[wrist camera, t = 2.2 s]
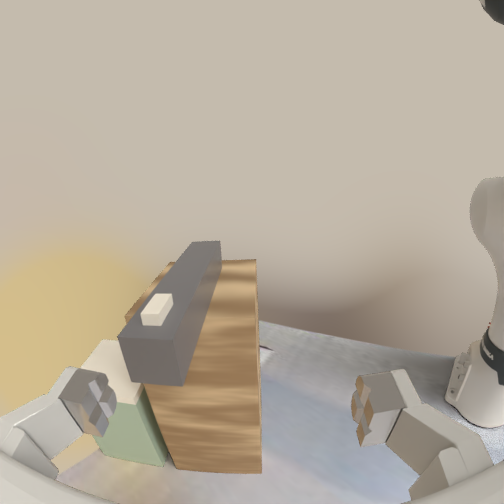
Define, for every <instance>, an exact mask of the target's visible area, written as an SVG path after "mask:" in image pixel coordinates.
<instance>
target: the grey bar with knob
mask: <svg viewBox="0 0 504 504" xmlns="http://www.w3.org/2000/svg"><path fill="white" fill-rule="evenodd" d="M221 270H222V260H221V246H220V241H202V242H192V243H191V244H190V245H189V247H188V248H187V249H186V250H185V251H184V253H183V254H182V255H181V256H180V258H179V259H178V260H177V261H176V262H175V264H174V265H173V266H172V267H171V268H170V270H169V271H168V272H167V273H166V275H165V276H164V277H163V278H162V280H161V281H160V282H159V283H158V285H157V286H156V287H155V288H154V290H153V291H152V292H151V293H150V295H149V296H148V297H147V299H146V300H145V301H144V302H143V304H142V305H141V306H140V308H139V309H138V310H137V311H136V313H135V314H134V315H133V317H132V318H131V319H130V321H129V322H128V323H127V325H126V326H125V327H124V329H123V330H122V331H121V332H120V334H119V335H118V336H117V338H118V341H119V345H120V348H121V351H122V355H123V358H124V361H125V364H126V367H127V370H128V373H129V376H130V379H131V382H135V383H144V384H154V385H166V386H180V387H183V385H184V382H185V379H186V376H187V373H188V369H189V366H190V363H191V360H192V357H193V354H194V351H195V348H196V345H197V341H198V338H199V335H200V332H201V329H202V326H203V323H204V320H205V317H206V314H207V311H208V308H209V305H210V302H211V299H212V296H213V293H214V290H215V287H216V284H217V281H218V278H219V275H220V273H221Z"/></svg>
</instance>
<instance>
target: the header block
mask: <svg viewBox="0 0 504 504" xmlns="http://www.w3.org/2000/svg"><path fill="white" fill-rule="evenodd" d="M81 369H86V370H91V371H96V372H101V373H104V374H106V376H107V378H108V380H109V382H108V385H109V386H110V387H111V388H112V389H113V390H114V392H115V394H116V399H117V404H116V410H115V412H114V414H113V415H112V416H110V417H109V418H108V421H109V425H108V427H107V430H106V432H105V434H104V436H103V437H99V436H95V435H92V436H93V437H94V439H95V440H96V442H97V444H98V445H99V447H100V449H101V450H102V452H103V453H104V455H106V456H110V457H115V458H119V459H123V460H128V461H133V462H138V463H143V464H148V465H154V466H161V467H164V464H165V461H166V457H167V453H168V448H167V445H166V443H165V440H164V438H163V436H162V433H161V430H160V428H159V425H158V423H157V420H156V417H155V415H154V412H153V409H152V407H151V404H150V401H149V398H148V395H147V392H146V389H145V386H144V383H135V382H131V379H130V376H129V373H128V370H127V367H126V364H125V361H124V358H123V355H122V351H121V348H120V345H119V341H116V340H105V339H102V341H101V342H100V343H99V345H98V346H97V347H96V348H95V349H94V351H93V352H92V353H91V355H90V356H89V357H88V358H87V360H86V361H85V362H84V364H83V365H82V366H81Z"/></svg>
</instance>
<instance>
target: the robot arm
mask: <svg viewBox="0 0 504 504" xmlns="http://www.w3.org/2000/svg"><path fill="white" fill-rule="evenodd" d="M479 1H480V2H481V4H482V7H483V9H484V10H485V11H486V12H487V13H488V14H489V15H490V16H491V17H492V19H493V20H494V21H496V22H498V23H501V24H503V25H504V0H479ZM470 220H471V224H472V228H473V230H474V233H475V235H476V237H477V238H478V240H479V241H480V242H481V244H482V245H483V246H484V247H485V248H486V250H487V251H488V253H489V255H490V256H491V258H492V261H493V263H494V266H495V269H496V273H497V280H498V291H497V299H496V304H495V309H494V313H493V317H492V321H491V323H489V324H490V326H488V329H487V330H486V332H485V333H484V335H483V337H482V339H481V340H478V341H475V342H473V343H471V344H470V347H469V349H468V352H467V354H466V353H462V354H461V355H458V356H457V357H456V359H455V361H454V365H453V369H452V373H451V377H450V380H449V384H448V387H447V391H446V394H445V400H446V401H447V402H448V403H450V404H451V405H453V406H455V407H456V408H457V409H458V411H459V412H460V413H461V414H462V416H463V417H465V418H466V419H467V420H468V421H470V422H471V423H473V424H475V425H478V426H481V427H487V428H494V427H499V426H502V425H504V177H496V178H487V179H483V180H482V181H481V182H480V183H479V185H478V186H477V188H476V189H475V191H474V193H473V196H472V199H471V204H470ZM108 382H109V380H108V378H107V376H106V374H104V373H101V372H96V371H91V370H86V369H81V368H76V367H71V366H69V367H67V368H66V369H65V370H64V371H63V373H62V374H61V375H60V377H59V378H58V380H57V381H56V383H55V384H54V385H53V387H52V388H51V390H50V391H49V392H48V394H47V395H45V394H43V395H41V396H40V397H38V398H36V399H34V400H32V401H30V402H28V403H27V404H25V405H23V406H21V407H19V408H17V409H15V410H13V411H12V412H10V413H8V414H6V415H4V416H2V417H0V504H119V503H115V502H112V501H109V500H106V499H103V498H100V497H97V496H94V495H91V494H88V493H85V492H83V491H80V490H78V489H75V488H73V487H70V486H68V485H65V484H63V483H61V482H58V481H56V480H55V479H56V477H57V475H58V472H59V470H58V468H57V467H56V466H55V465H54V464H53V463H52V462H51V461H50V460H51V459H53V458H54V457H55V456H57V455H58V454H59V453H60V452H62V451H63V450H64V449H65V448H66V447H68V446H69V445H70V444H72V443H73V442H74V441H75V440H77V439H78V438H79V437H80V436H82V435H83V433H87V434H91V435H95V436H99V437H103V436H104V434H105V432H106V430H107V427H108V425H109V421H108V418H109V417H110V416H112V415H113V414H114V412H115V410H116V404H117V399H116V394H115V392H114V390H113V389H112V388H111V387H110V386H109V385H108ZM356 388H357V391H355V392H354V393H353V396H352V404H351V409H352V416H353V420H354V421H355V422H356V423H358V424H359V425H358V428H357V431H356V432H357V436H358V440H359V444H360V447H365V446H372V445H377V444H383V443H386V445H387V446H388V447H389V448H390V449H391V450H392V451H393V452H394V453H396V454H397V455H398V456H399V457H400V458H401V459H402V460H403V461H404V462H405V463H407V464H408V465H409V466H410V467H411V468H412V469H413V470H414V471H415V472H417V473H418V474H419V475H420V477H419V478H418V479H417V480H416V481H415V483H414V484H413V485H412V486H411V487H410V489H409V493H410V497H411V501H408V502H405V503H402V504H504V460H503V461H501V462H499V463H497V464H495V465H494V464H493V462H492V460H491V458H490V455H489V453H488V451H487V449H486V447H485V445H484V443H483V441H482V439H481V437H480V435H479V434H477V433H475V432H473V431H472V430H470V429H468V428H467V427H465V426H463V425H462V424H460V423H458V422H457V421H455V420H453V419H451V418H450V417H448V416H446V415H445V414H443V413H442V412H440V411H438V410H437V409H435V408H433V407H432V406H430V405H428V404H427V403H425V404H422V402H421V400H420V398H419V396H418V394H417V392H416V390H415V388H414V386H413V384H412V382H411V380H410V378H409V376H408V374H407V372H406V371H405V370H404V369H398V370H392V371H386V372H380V373H373V374H367V375H360V376H358V378H357V380H356Z"/></svg>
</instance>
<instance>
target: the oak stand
mask: <svg viewBox="0 0 504 504" xmlns="http://www.w3.org/2000/svg"><path fill="white" fill-rule="evenodd" d="M174 264H175V262H170V263H169V264H168V265H167V266H166V267H165V269H164V270H163V271H162V272H161V273H160V275H159V276H158V277H157V278H156V279H155V280H154V281H153V282H152V284H151V285H150V286H149V287H148V288H147V290H146V291H145V292H144V293H143V294H142V296H141V297H140V298H139V299H138V300H137V302H136V303H135V304H134V305H133V307H132V308H131V309H130V310H129V311H128V313H127V314H126V315H125V319H126V323H128V322H129V321H130V319H131V318H132V317H133V315H134V314H135V313H136V311H137V310H138V309H139V308H140V306H141V305H142V304H143V302H144V301H145V300H146V299H147V297H148V296H149V295H150V293H151V292H152V291H153V290H154V288H155V287H156V286H157V285H158V283H159V282H160V281H161V280H162V278H163V277H164V276H165V275H166V273H167V272H168V271H169V270H170V268H171V267H172V266H173V265H174ZM144 386H145V389H146V392H147V395H148V398H149V401H150V404H151V407H152V409H153V412H154V415H155V417H156V420H157V423H158V425H159V428H160V430H161V433H162V436H163V438H164V440H165V443H166V445H167V448H168V450H169V452H170V455H171V457H172V459H173V461H174V464H175V466H176V468H177V469H181V470H190V471H201V472H215V473H242V474H257V473H262V436H261V377H260V349H259V322H258V296H257V271H256V259H254V260H222V270H221V273H220V275H219V278H218V281H217V284H216V287H215V290H214V293H213V296H212V299H211V302H210V305H209V308H208V311H207V314H206V317H205V320H204V323H203V326H202V329H201V332H200V335H199V338H198V341H197V345H196V348H195V351H194V354H193V357H192V360H191V363H190V366H189V369H188V373H187V376H186V379H185V382H184V385H183V387H180V386H166V385H154V384H144Z"/></svg>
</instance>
